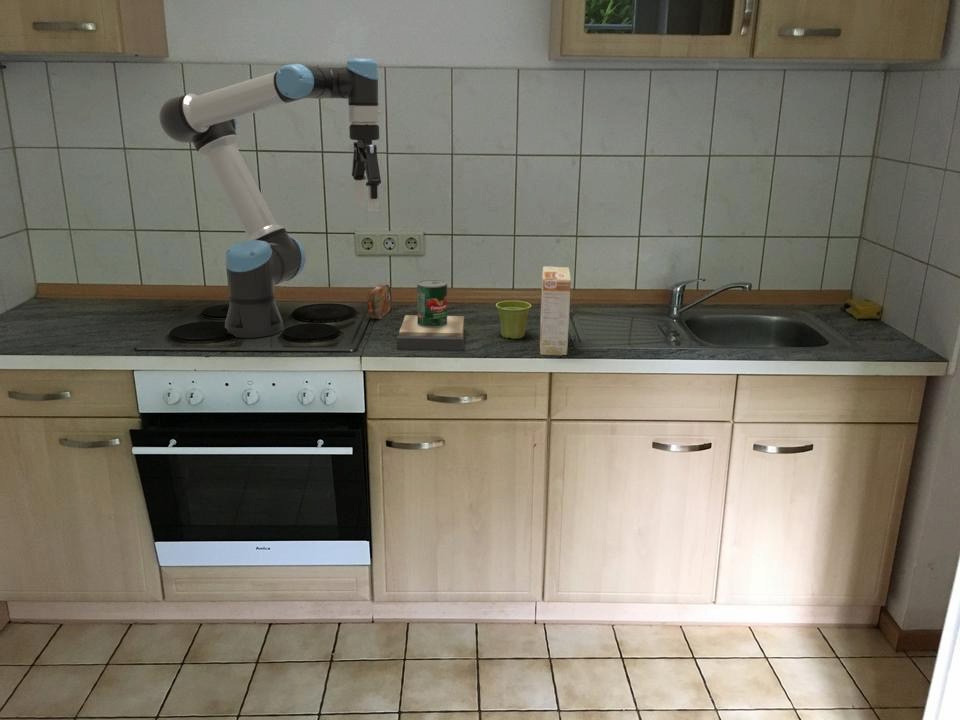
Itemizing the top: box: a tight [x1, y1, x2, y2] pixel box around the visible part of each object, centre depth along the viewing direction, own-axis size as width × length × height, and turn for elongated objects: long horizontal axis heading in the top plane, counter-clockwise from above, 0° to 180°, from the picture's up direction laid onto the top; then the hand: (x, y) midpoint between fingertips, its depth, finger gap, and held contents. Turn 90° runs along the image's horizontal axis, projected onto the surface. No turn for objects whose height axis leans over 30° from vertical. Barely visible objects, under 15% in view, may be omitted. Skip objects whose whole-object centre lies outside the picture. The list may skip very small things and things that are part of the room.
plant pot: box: [495, 300, 532, 340], centre depth 208 cm, size 9×9×9 cm
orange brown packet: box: [366, 284, 392, 320], centre depth 226 cm, size 15×3×8 cm, turn 168°
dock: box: [396, 314, 465, 351], centre depth 205 cm, size 17×18×4 cm
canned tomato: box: [416, 279, 448, 328], centre depth 203 cm, size 8×8×11 cm
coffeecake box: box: [539, 265, 572, 356], centre depth 198 cm, size 15×7×20 cm, turn 175°
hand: (366, 208), depth 204 cm, fingers open, 13 cm apart
